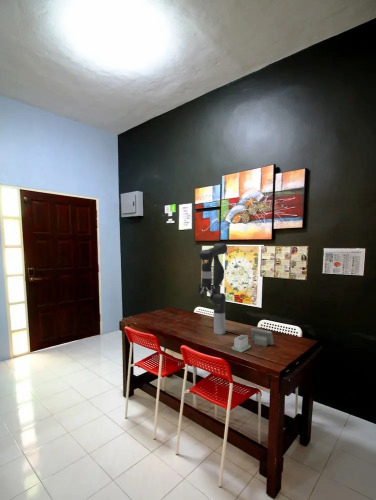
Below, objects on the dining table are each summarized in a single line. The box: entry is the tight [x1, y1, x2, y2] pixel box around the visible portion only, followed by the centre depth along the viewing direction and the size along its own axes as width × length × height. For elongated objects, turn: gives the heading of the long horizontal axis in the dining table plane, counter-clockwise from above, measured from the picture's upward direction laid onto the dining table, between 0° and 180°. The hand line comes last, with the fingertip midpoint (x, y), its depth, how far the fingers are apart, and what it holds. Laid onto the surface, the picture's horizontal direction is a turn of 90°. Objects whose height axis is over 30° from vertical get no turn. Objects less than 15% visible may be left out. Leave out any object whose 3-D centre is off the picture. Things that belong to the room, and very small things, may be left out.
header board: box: [231, 344, 252, 353], centre depth 170 cm, size 12×8×6 cm, turn 136°
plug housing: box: [233, 334, 249, 349], centre depth 170 cm, size 10×5×7 cm, turn 136°
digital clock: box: [250, 327, 274, 347], centre depth 178 cm, size 16×9×11 cm, turn 44°
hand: (206, 299), depth 177 cm, fingers open, 8 cm apart
